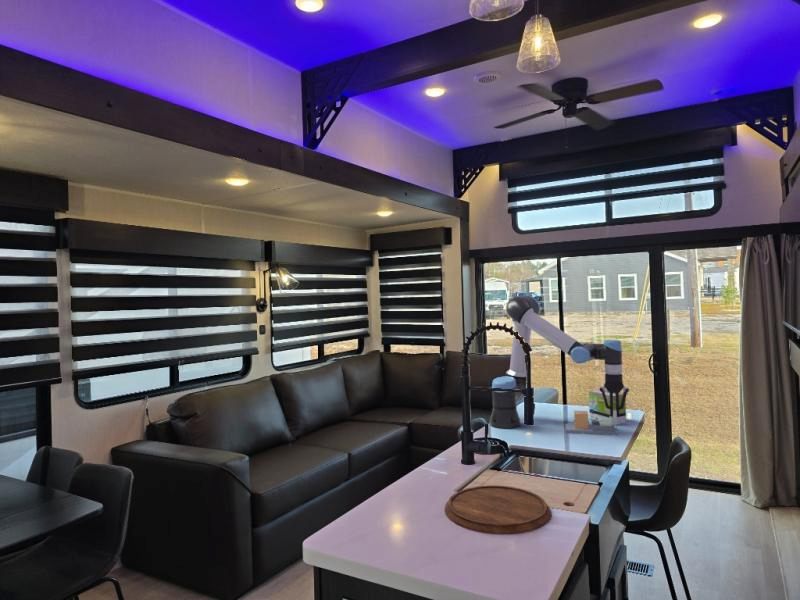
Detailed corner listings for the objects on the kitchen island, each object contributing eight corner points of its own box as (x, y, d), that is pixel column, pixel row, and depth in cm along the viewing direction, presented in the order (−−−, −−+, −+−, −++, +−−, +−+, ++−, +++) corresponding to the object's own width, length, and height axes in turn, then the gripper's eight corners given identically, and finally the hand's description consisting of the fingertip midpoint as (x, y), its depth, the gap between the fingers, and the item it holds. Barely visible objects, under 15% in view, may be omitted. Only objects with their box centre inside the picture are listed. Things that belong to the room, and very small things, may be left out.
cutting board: (478, 484, 182) (478, 477, 182) (568, 506, 162) (567, 497, 162) (423, 517, 157) (423, 508, 157) (521, 546, 137) (521, 537, 137)
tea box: (588, 419, 266) (587, 390, 266) (603, 417, 270) (602, 388, 270) (612, 425, 253) (611, 395, 252) (627, 423, 257) (626, 393, 257)
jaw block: (574, 428, 244) (574, 413, 244) (574, 425, 250) (574, 410, 250) (588, 428, 243) (587, 413, 243) (587, 425, 248) (587, 411, 248)
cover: (600, 426, 240) (599, 419, 240) (598, 421, 248) (598, 415, 248) (614, 426, 238) (613, 420, 238) (612, 422, 246) (612, 415, 246)
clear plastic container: (565, 432, 243) (565, 421, 243) (565, 426, 254) (565, 415, 254) (616, 435, 236) (616, 423, 236) (614, 428, 248) (614, 416, 248)
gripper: (599, 374, 240) (600, 425, 240) (629, 374, 236) (631, 426, 236) (598, 371, 247) (599, 421, 247) (627, 372, 243) (629, 422, 244)
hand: (614, 423), depth 242 cm, fingers closed
